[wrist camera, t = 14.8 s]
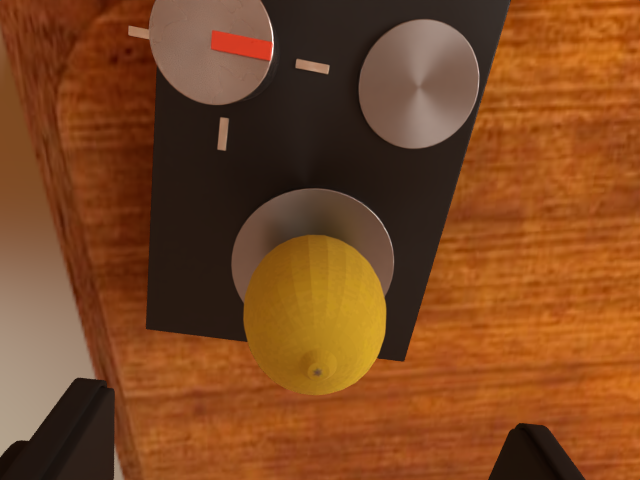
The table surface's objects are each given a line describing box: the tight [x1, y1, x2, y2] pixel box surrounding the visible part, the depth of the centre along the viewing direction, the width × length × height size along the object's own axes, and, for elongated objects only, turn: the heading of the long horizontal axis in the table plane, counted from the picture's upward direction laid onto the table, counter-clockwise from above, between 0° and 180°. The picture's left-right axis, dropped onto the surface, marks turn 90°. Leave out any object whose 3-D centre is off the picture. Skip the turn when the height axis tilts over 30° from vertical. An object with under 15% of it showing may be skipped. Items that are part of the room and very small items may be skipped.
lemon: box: [243, 235, 386, 395], centre depth 16 cm, size 6×6×8 cm
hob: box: [128, 0, 511, 361], centre depth 20 cm, size 15×18×3 cm
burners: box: [231, 19, 479, 303], centre depth 19 cm, size 10×16×1 cm, turn 170°
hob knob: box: [149, 0, 280, 105], centre depth 15 cm, size 4×4×4 cm
